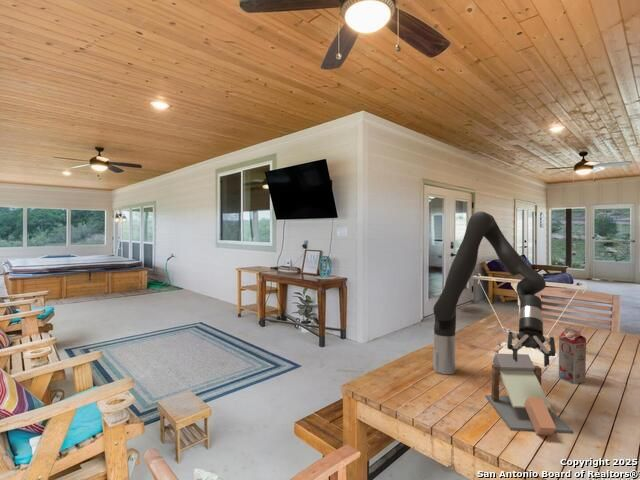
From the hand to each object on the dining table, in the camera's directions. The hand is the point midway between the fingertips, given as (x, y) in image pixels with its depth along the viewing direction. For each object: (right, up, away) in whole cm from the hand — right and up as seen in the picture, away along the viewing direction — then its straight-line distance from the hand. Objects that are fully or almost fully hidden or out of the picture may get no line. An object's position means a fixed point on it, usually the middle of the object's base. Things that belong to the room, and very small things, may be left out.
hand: (530, 363), depth 117 cm
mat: (+1, -20, +5) cm, 20 cm away
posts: (+2, -19, +12) cm, 23 cm away
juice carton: (+37, -19, +32) cm, 52 cm away
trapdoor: (+2, -12, +10) cm, 15 cm away
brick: (0, -13, -1) cm, 13 cm away
